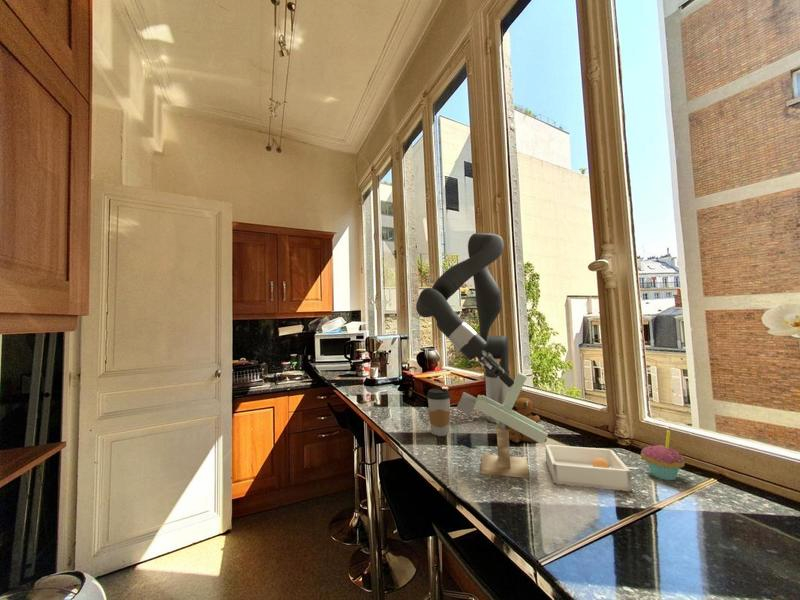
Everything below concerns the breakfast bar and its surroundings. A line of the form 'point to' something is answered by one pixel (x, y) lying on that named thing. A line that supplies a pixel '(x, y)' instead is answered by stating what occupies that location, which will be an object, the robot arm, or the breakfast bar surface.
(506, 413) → the tilting chute
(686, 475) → the breakfast bar surface
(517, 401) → the stuffed squirrel
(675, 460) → the cupcake
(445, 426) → the coffee cup
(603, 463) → the ball
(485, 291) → the robot arm
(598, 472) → the tub
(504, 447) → the fulcrum stand
